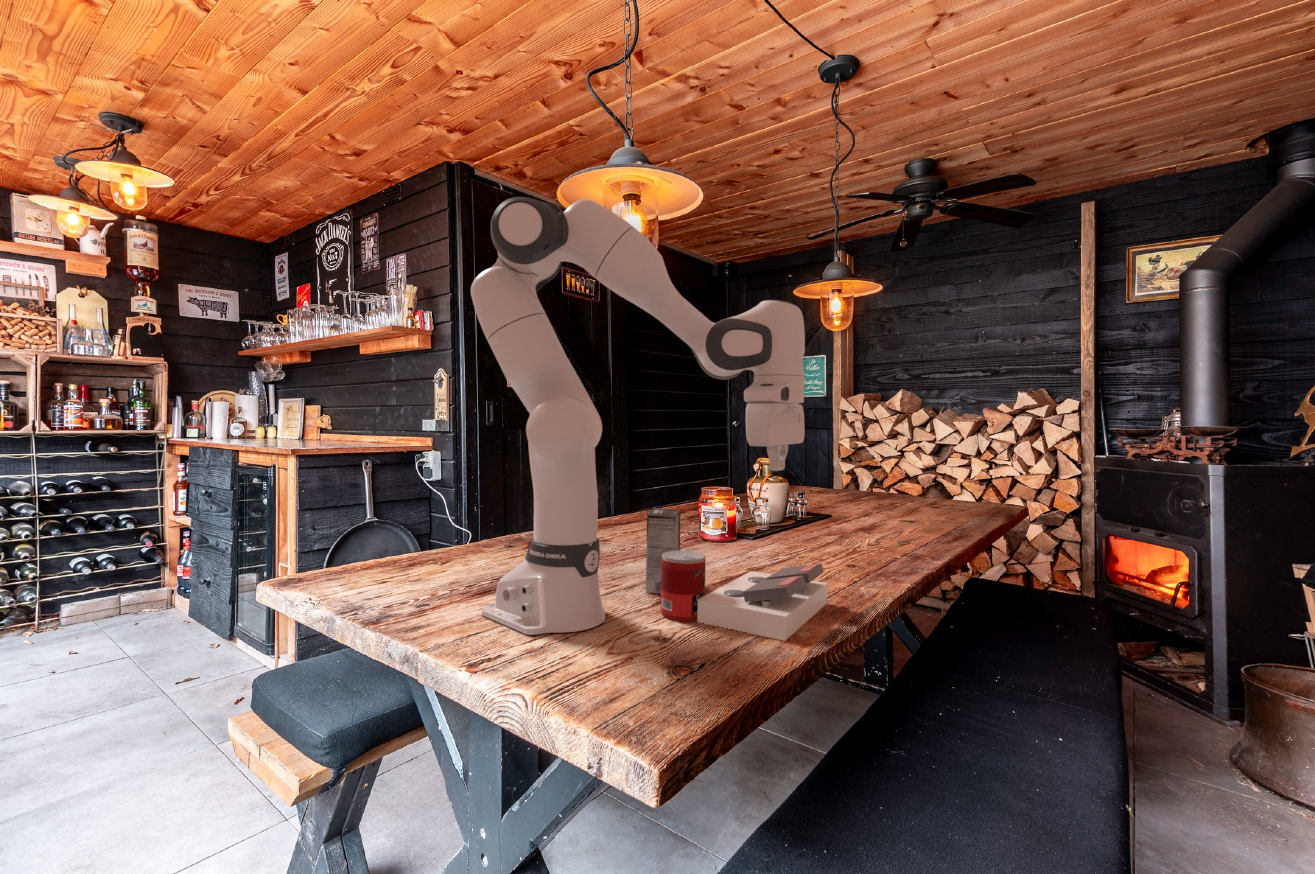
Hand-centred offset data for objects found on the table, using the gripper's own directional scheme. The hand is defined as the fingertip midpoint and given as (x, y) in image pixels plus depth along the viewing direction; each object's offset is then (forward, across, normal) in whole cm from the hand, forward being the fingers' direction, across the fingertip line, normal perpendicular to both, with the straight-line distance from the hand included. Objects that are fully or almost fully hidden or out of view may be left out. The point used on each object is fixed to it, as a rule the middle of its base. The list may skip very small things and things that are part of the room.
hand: (777, 470), depth 109 cm
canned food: (+27, +8, -14) cm, 32 cm away
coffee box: (+27, -5, -26) cm, 38 cm away
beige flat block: (+27, -2, -2) cm, 27 cm away
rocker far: (+20, -8, +1) cm, 22 cm away
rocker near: (+20, +3, +1) cm, 21 cm away
